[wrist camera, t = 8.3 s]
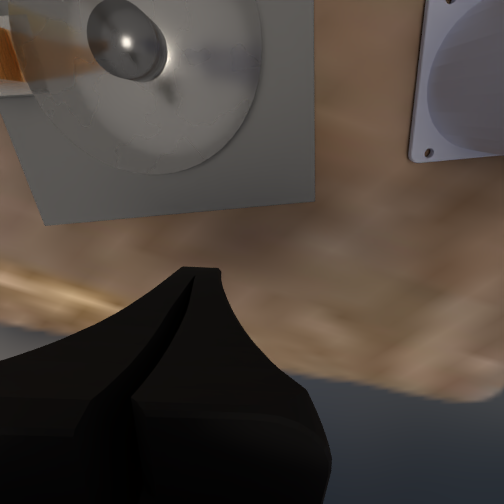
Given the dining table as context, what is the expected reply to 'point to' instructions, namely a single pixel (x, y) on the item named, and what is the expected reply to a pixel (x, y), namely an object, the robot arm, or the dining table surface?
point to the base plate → (209, 171)
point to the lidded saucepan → (136, 74)
